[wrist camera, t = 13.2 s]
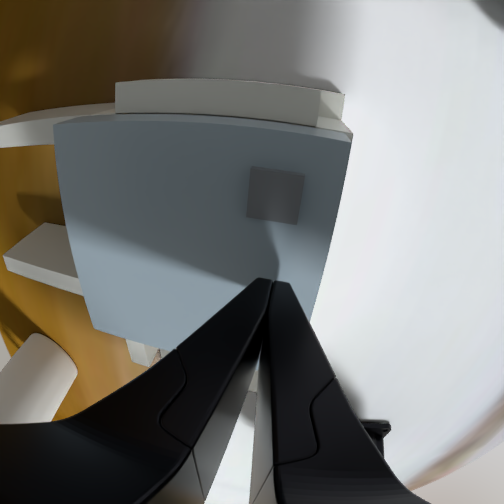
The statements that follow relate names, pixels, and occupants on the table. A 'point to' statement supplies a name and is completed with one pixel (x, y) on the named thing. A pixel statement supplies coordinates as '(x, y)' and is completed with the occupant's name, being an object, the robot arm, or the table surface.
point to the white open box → (157, 102)
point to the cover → (193, 214)
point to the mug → (35, 381)
